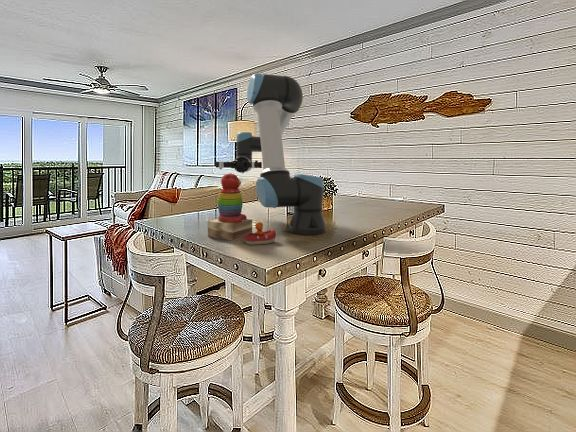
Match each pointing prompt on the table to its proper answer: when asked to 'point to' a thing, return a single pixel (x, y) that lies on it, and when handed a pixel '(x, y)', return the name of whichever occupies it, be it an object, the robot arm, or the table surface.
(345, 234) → the table surface
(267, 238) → the toy boat
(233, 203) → the stacking bear
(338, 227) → the table surface
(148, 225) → the table surface
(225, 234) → the pedestal
